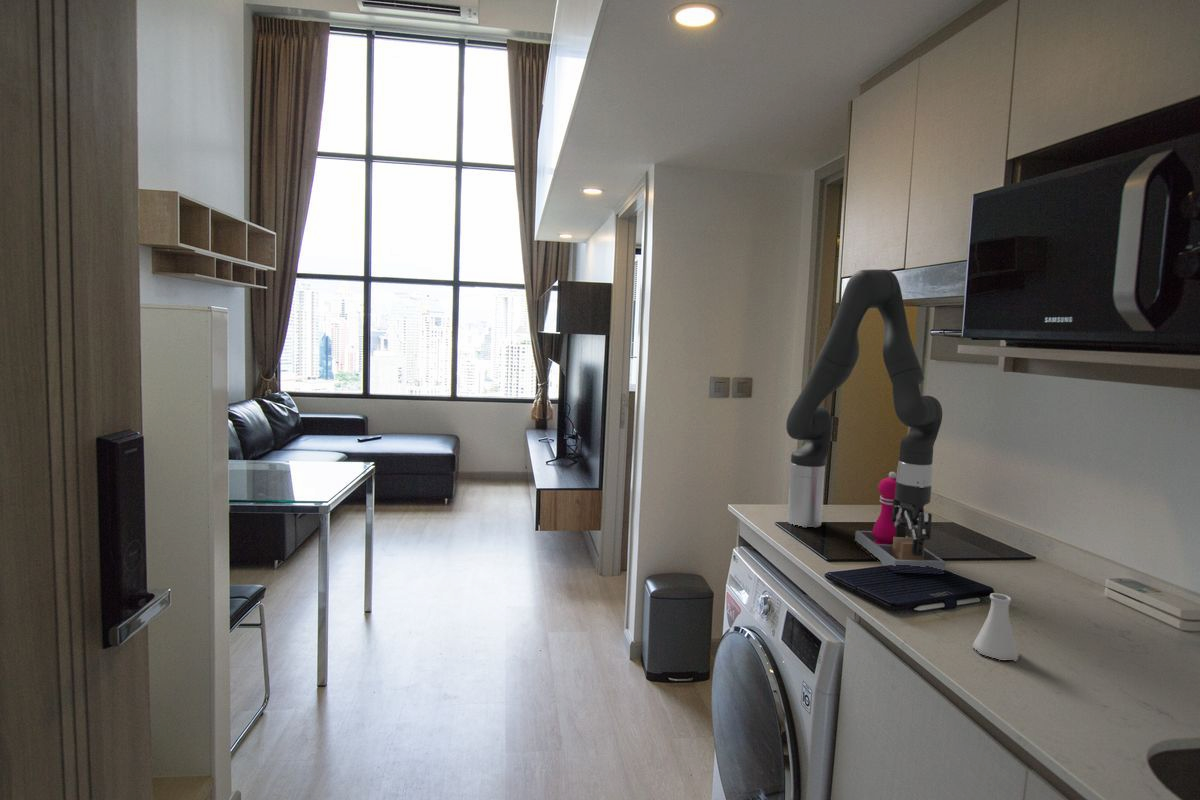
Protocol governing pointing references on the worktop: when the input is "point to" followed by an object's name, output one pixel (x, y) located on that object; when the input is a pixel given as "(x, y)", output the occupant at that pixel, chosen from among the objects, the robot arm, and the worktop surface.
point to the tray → (885, 552)
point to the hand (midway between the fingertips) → (908, 548)
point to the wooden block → (904, 549)
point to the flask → (997, 631)
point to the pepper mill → (886, 512)
